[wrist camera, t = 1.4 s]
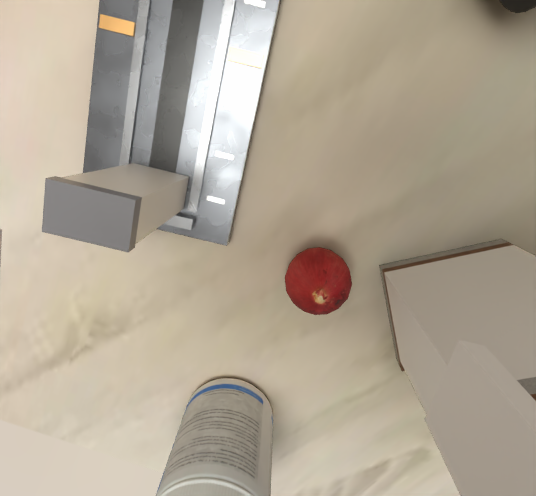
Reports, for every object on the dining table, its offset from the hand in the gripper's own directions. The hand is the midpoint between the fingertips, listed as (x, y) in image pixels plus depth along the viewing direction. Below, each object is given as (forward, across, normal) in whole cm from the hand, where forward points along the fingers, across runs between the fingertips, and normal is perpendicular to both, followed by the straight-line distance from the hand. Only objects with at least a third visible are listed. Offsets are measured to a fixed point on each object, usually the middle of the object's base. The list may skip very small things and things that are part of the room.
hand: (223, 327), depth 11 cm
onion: (+27, -6, +6) cm, 28 cm away
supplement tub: (+27, -2, +25) cm, 37 cm away
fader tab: (+25, +10, +2) cm, 27 cm away
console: (+27, +10, -6) cm, 29 cm away
